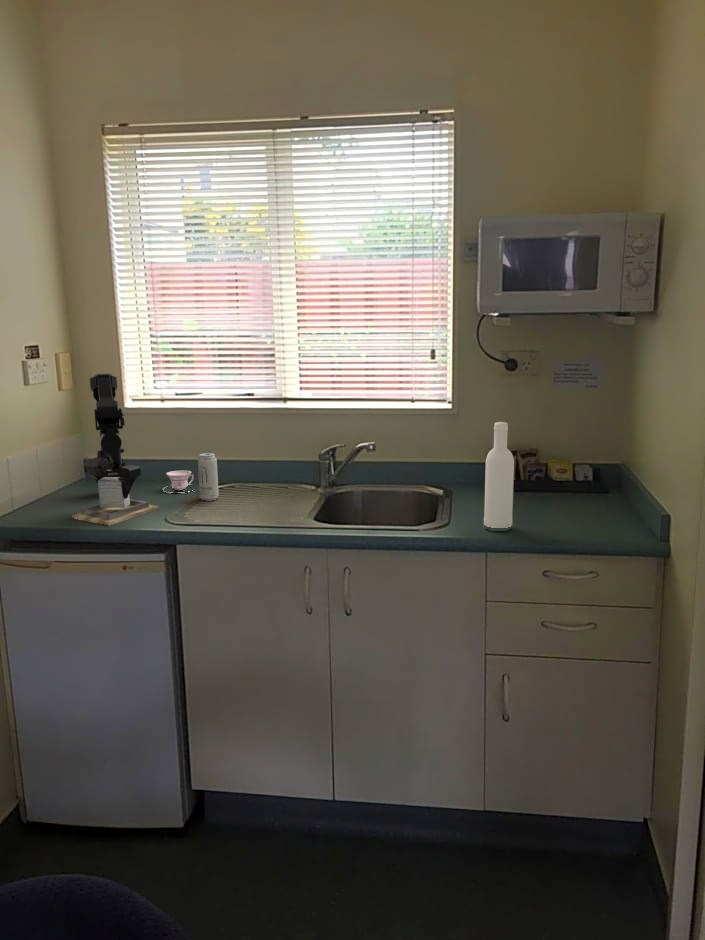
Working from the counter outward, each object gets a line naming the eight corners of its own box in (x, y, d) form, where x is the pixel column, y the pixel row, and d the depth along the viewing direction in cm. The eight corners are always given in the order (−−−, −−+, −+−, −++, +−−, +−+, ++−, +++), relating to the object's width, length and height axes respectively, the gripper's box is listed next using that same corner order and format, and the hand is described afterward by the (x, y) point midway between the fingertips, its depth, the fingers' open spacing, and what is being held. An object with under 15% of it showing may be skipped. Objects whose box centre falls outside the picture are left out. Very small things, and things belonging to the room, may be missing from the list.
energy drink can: (196, 500, 250) (193, 455, 246) (207, 496, 255) (204, 452, 252) (211, 502, 247) (209, 456, 244) (222, 498, 252) (220, 453, 249)
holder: (71, 518, 231) (71, 510, 230) (122, 503, 248) (121, 495, 247) (109, 525, 223) (108, 517, 222) (158, 509, 240) (158, 501, 239)
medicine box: (130, 504, 236) (128, 477, 235) (124, 508, 232) (122, 480, 230) (105, 504, 237) (103, 476, 235) (99, 508, 233) (97, 480, 231)
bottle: (489, 522, 221) (492, 419, 214) (516, 526, 217) (519, 421, 210) (479, 530, 214) (482, 424, 208) (506, 534, 210) (510, 426, 204)
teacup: (162, 495, 257) (160, 477, 256) (162, 487, 269) (161, 470, 268) (198, 493, 260) (197, 475, 259) (197, 485, 271) (196, 468, 270)
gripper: (67, 448, 228) (72, 499, 232) (112, 454, 219) (116, 506, 223) (96, 442, 238) (101, 490, 241) (140, 447, 229) (144, 498, 232)
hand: (114, 496), depth 234 cm, fingers open, 9 cm apart
